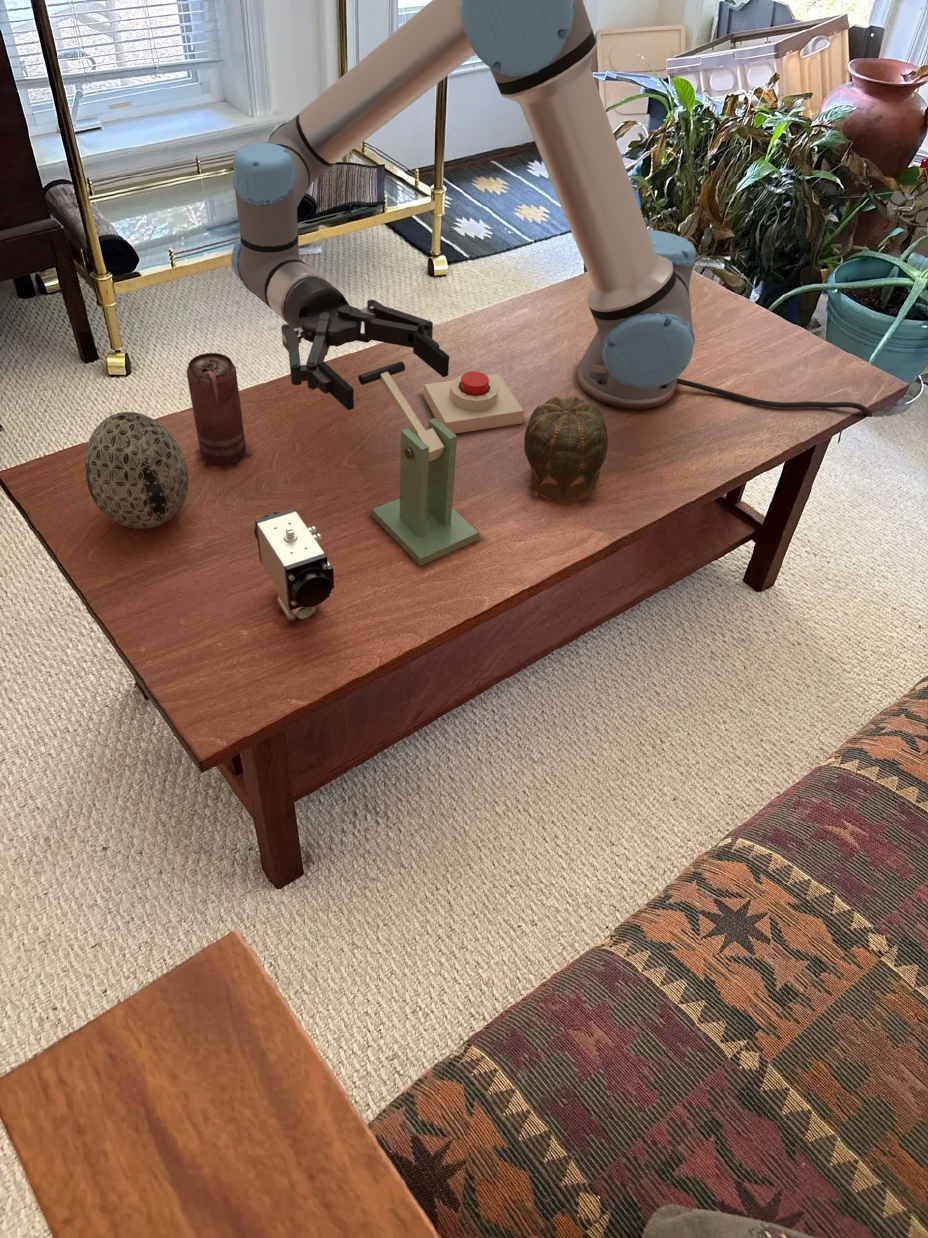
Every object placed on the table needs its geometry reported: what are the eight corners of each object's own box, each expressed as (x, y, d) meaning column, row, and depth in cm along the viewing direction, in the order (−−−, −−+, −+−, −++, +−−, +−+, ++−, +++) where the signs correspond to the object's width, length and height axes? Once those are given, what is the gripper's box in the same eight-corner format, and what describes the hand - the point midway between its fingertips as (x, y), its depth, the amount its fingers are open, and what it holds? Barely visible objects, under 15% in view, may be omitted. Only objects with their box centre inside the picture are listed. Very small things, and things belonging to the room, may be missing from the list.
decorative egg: (124, 562, 114) (97, 462, 103) (83, 510, 120) (54, 410, 109) (212, 526, 120) (195, 427, 109) (169, 477, 125) (149, 379, 115)
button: (482, 379, 140) (483, 369, 138) (491, 394, 137) (492, 384, 136) (456, 383, 139) (457, 372, 137) (465, 398, 136) (466, 388, 135)
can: (209, 472, 127) (194, 382, 117) (195, 446, 130) (179, 356, 120) (253, 461, 129) (242, 372, 119) (238, 436, 133) (226, 346, 122)
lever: (356, 382, 114) (360, 369, 112) (397, 368, 117) (402, 356, 115) (410, 468, 112) (416, 457, 110) (452, 452, 114) (457, 441, 112)
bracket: (372, 516, 123) (371, 421, 112) (429, 493, 127) (433, 398, 116) (420, 566, 117) (424, 470, 106) (478, 540, 121) (487, 445, 110)
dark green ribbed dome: (572, 450, 135) (585, 377, 126) (613, 496, 129) (630, 422, 120) (505, 468, 131) (514, 394, 123) (544, 516, 125) (556, 441, 116)
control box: (498, 386, 145) (500, 363, 142) (522, 423, 139) (525, 400, 136) (423, 396, 142) (424, 373, 139) (444, 435, 136) (446, 411, 133)
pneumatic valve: (298, 647, 107) (291, 570, 98) (259, 582, 113) (248, 504, 105) (343, 631, 109) (340, 554, 100) (301, 568, 115) (295, 490, 107)
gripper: (389, 306, 131) (481, 380, 120) (224, 355, 120) (309, 441, 109) (389, 254, 126) (485, 326, 115) (217, 300, 115) (305, 385, 104)
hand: (400, 382), depth 112 cm, fingers open, 13 cm apart
